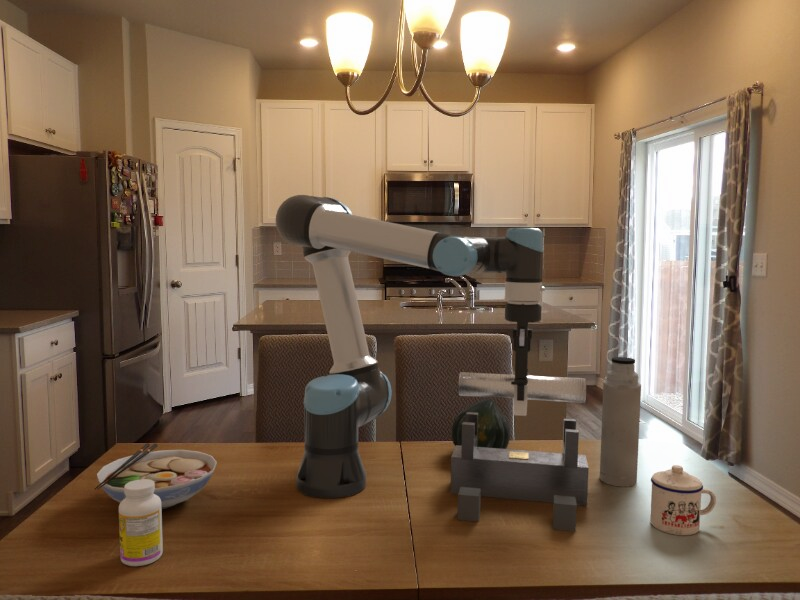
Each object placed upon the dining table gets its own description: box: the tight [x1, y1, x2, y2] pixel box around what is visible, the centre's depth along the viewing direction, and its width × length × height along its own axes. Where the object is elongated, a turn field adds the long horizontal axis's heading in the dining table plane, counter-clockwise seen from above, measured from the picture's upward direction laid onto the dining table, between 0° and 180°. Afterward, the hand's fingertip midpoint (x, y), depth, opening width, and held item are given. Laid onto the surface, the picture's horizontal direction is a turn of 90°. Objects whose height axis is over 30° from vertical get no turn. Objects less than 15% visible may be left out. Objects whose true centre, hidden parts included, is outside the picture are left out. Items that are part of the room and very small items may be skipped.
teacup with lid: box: [649, 464, 717, 536], centre depth 122 cm, size 12×9×12 cm
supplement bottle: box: [118, 479, 164, 567], centre depth 107 cm, size 7×7×13 cm
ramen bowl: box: [93, 442, 218, 510], centre depth 130 cm, size 25×23×8 cm
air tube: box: [458, 371, 587, 404], centre depth 136 cm, size 26×5×5 cm, turn 78°
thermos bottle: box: [599, 356, 642, 488], centre depth 144 cm, size 8×8×28 cm
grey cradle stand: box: [450, 412, 589, 507], centre depth 137 cm, size 28×10×16 cm, turn 78°
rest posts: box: [457, 487, 578, 532], centre depth 123 cm, size 22×4×5 cm, turn 78°
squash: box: [451, 398, 511, 449], centre depth 161 cm, size 14×15×15 cm
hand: (520, 411), depth 136 cm, fingers closed on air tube, 5 cm apart
